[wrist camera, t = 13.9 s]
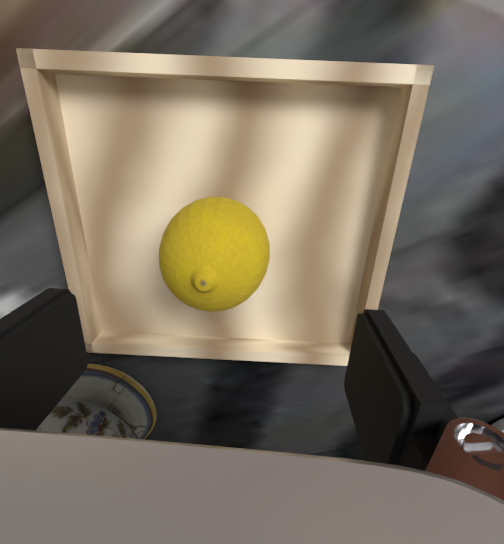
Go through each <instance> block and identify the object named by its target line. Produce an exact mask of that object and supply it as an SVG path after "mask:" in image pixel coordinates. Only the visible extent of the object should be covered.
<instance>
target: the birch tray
mask: <svg viewBox="0 0 504 544" xmlns="http://www.w3.org/2000/svg"><path fill="white" fill-rule="evenodd" d="M16 51H17V55H18V60H19V65H20V69H21V74H22V78H23V83H24V87H25V92H26V97H27V101H28V106H29V110H30V115H31V119H32V124H33V129H34V133H35V138H36V142H37V147H38V151H39V156H40V161H41V165H42V170H43V174H44V179H45V183H46V188H47V193H48V197H49V202H50V206H51V211H52V215H53V220H54V225H55V229H56V234H57V238H58V243H59V247H60V252H61V256H62V261H63V266H64V270H65V275H66V279H67V284H68V288H69V290H70V292H71V293H72V294H74V295H75V296H76V300H77V305H78V310H79V315H80V321H81V326H82V331H83V336H84V341H85V347H86V352H88V353H108V354H127V355H147V356H166V357H185V358H205V359H224V360H244V361H263V362H282V363H302V364H321V365H341V366H347V365H348V360H349V355H350V349H351V344H352V339H353V334H354V329H355V324H356V318H357V315H358V313H363V312H364V310H365V309H372V310H378V305H379V301H380V297H381V293H382V288H383V284H384V280H385V275H386V271H387V267H388V262H389V258H390V254H391V249H392V245H393V241H394V236H395V232H396V228H397V224H398V219H399V215H400V211H401V206H402V202H403V198H404V193H405V189H406V185H407V180H408V176H409V172H410V167H411V163H412V159H413V155H414V150H415V146H416V142H417V137H418V133H419V129H420V124H421V120H422V116H423V111H424V107H425V103H426V98H427V94H428V90H429V85H430V81H431V77H432V73H433V68H434V65H412V64H387V63H363V62H338V61H314V60H289V59H265V58H240V57H216V56H191V55H167V54H143V53H118V52H94V51H69V50H45V49H20V48H16ZM207 197H226V198H229V199H233V200H236V201H239V202H240V203H242V204H244V205H245V206H247V207H249V208H250V209H251V210H252V211H253V212H254V213H255V214H256V215H257V216H258V217H259V219H260V221H261V222H262V224H263V226H264V228H265V229H266V233H267V236H268V240H269V244H270V260H269V264H268V267H267V271H266V275H265V277H264V278H263V280H262V282H261V284H260V285H259V287H258V289H257V290H256V291H255V292H254V293H253V294H252V295H251V296H250V297H249V298H248V299H247V300H246V301H244V302H243V303H241V304H239V305H238V306H236V307H234V308H231V309H228V310H225V311H217V312H209V311H202V310H198V309H195V308H192V307H190V306H188V305H186V304H185V303H183V302H181V301H180V300H178V299H177V298H176V297H175V296H174V295H173V294H172V292H171V291H170V290H169V289H168V287H167V285H166V284H165V282H164V280H163V277H162V274H161V270H160V267H159V248H160V244H161V240H162V236H163V233H164V231H165V229H166V227H167V226H168V224H169V222H170V220H171V219H172V218H173V217H174V216H175V215H176V214H177V213H178V212H179V211H180V210H181V209H182V208H183V207H184V206H186V205H188V204H190V203H192V202H194V201H196V200H198V199H203V198H207Z"/></svg>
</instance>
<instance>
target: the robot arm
mask: <svg viewBox="0 0 504 544" xmlns="http://www.w3.org/2000/svg"><path fill="white" fill-rule="evenodd" d="M87 365H88V357H87V352H86V347H85V341H84V336H83V331H82V326H81V321H80V315H79V310H78V305H77V300H76V296H75V295H74V294H72V293H71V292H70V290H68V289H56V288H49V289H46V290H45V291H43V292H42V293H40V294H39V295H37V296H36V297H34V298H32V299H31V300H29V301H28V302H26V303H25V304H23V305H21V306H20V307H18V308H17V309H15V310H14V311H12V312H11V313H9V314H7V315H6V316H4V317H3V318H1V319H0V544H504V418H502V419H500V420H498V421H496V422H495V423H493V424H492V425H489V424H486V423H484V422H482V421H479V420H475V419H470V418H458V417H457V415H456V414H455V412H454V411H453V409H452V408H451V406H450V405H449V403H448V402H447V400H446V399H445V397H444V396H443V395H442V393H441V392H440V390H439V389H438V387H437V386H436V384H435V383H434V381H433V380H432V378H431V377H430V375H429V374H428V372H427V371H426V369H425V368H424V366H423V365H422V363H421V362H420V360H419V359H418V357H417V356H416V355H415V354H413V353H412V351H411V350H410V348H409V347H408V345H407V344H406V342H405V341H404V339H403V338H402V336H401V335H400V333H399V332H398V330H397V329H396V327H395V326H394V324H393V323H392V321H391V320H390V318H389V317H388V315H387V314H386V312H385V311H384V310H372V309H365V310H364V312H363V313H358V315H357V318H356V324H355V329H354V334H353V339H352V344H351V349H350V355H349V360H348V365H347V370H346V375H345V383H344V385H345V392H346V396H347V399H348V403H349V406H350V409H351V413H352V416H353V420H354V423H355V427H356V430H357V434H358V437H359V441H360V444H361V448H362V451H363V454H364V458H365V461H361V460H354V459H346V458H336V457H325V456H315V455H305V454H296V453H285V452H274V451H264V450H253V449H242V448H231V447H220V446H210V445H199V444H188V443H176V442H165V441H154V440H142V439H131V438H119V437H107V436H96V435H84V434H72V433H60V432H47V431H36V429H37V428H38V427H39V426H40V425H41V423H42V422H43V421H44V420H45V419H46V417H47V416H48V415H49V414H50V413H51V411H52V410H53V409H54V408H55V407H56V405H57V404H58V403H59V402H60V400H61V399H62V398H63V397H64V396H65V394H66V393H67V392H68V391H69V390H70V388H71V387H72V386H73V385H74V384H75V382H76V381H77V380H78V379H79V378H80V376H81V375H82V374H83V373H84V372H85V370H86V368H87Z"/></svg>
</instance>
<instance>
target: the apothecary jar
mask: <svg viewBox="0 0 504 544" xmlns="http://www.w3.org/2000/svg"><path fill="white" fill-rule="evenodd" d="M156 416H157V414H156V407H155V404H154V402H153V399H152V397H151V396H150V394H149V393H148V391H147V390H146V389H145V388H144V387H143V386H142V385H141V384H140V383H139V382H138V381H137V380H135V379H134V378H133V377H131V376H130V375H128V374H126V373H124V372H122V371H120V370H118V369H115V368H113V367H109V366H105V365H100V364H88V365H87V368H86V370H85V372H84V373H83V374H82V375H81V376H80V378H79V379H78V380H77V381H76V382H75V384H74V385H73V386H72V387H71V388H70V390H69V391H68V392H67V393H66V394H65V396H64V397H63V398H62V399H61V400H60V402H59V403H58V404H57V405H56V407H55V408H54V409H53V410H52V411H51V413H50V414H49V415H48V416H47V417H46V419H45V420H44V421H43V422H42V423H41V425H40V426H39V427H38V428H37V429H36V431H47V432H60V433H72V434H84V435H96V436H107V437H119V438H131V439H142V440H143V439H144V438H146V437H147V436H148V435H149V434H150V432H151V431H152V429H153V428H154V425H155V423H156Z"/></svg>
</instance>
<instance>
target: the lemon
mask: <svg viewBox="0 0 504 544" xmlns="http://www.w3.org/2000/svg"><path fill="white" fill-rule="evenodd" d="M269 260H270V244H269V240H268V236H267V233H266V229H265V228H264V226H263V224H262V222H261V221H260V219H259V217H258V216H257V215H256V214H255V213H254V212H253V211H252V210H251V209H250V208H249V207H247V206H245V205H244V204H242V203H240V202H239V201H236V200H233V199H229V198H226V197H207V198H203V199H198V200H196V201H194V202H192V203H190V204H188V205H186V206H184V207H183V208H182V209H181V210H180V211H179V212H178V213H177V214H176V215H175V216H174V217H173V218H172V219H171V220H170V222H169V224H168V226H167V227H166V229H165V231H164V233H163V236H162V240H161V244H160V248H159V267H160V270H161V274H162V277H163V280H164V282H165V284H166V285H167V287H168V289H169V290H170V291H171V292H172V294H173V295H174V296H175V297H176V298H177V299H178V300H180V301H181V302H183V303H185V304H186V305H188V306H190V307H192V308H195V309H198V310H202V311H209V312H217V311H225V310H228V309H231V308H234V307H236V306H238V305H239V304H241V303H243V302H244V301H246V300H247V299H248V298H249V297H250V296H251V295H252V294H253V293H254V292H255V291H256V290H257V289H258V287H259V285H260V284H261V282H262V280H263V278H264V277H265V275H266V271H267V267H268V264H269Z"/></svg>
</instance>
